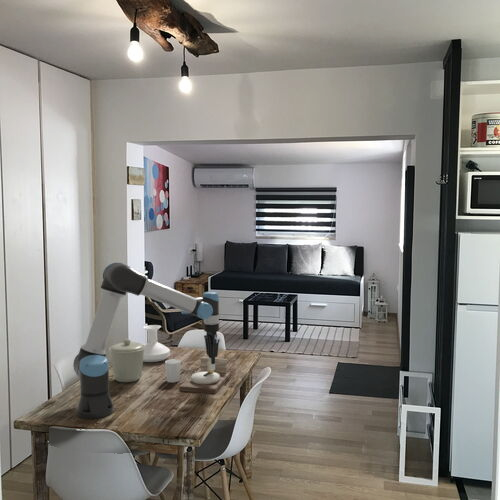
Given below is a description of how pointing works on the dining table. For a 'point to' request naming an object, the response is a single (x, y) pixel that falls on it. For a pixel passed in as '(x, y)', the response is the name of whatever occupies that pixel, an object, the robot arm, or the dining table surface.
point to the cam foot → (205, 377)
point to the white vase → (154, 346)
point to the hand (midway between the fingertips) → (212, 369)
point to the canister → (127, 360)
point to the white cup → (173, 370)
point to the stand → (219, 368)
